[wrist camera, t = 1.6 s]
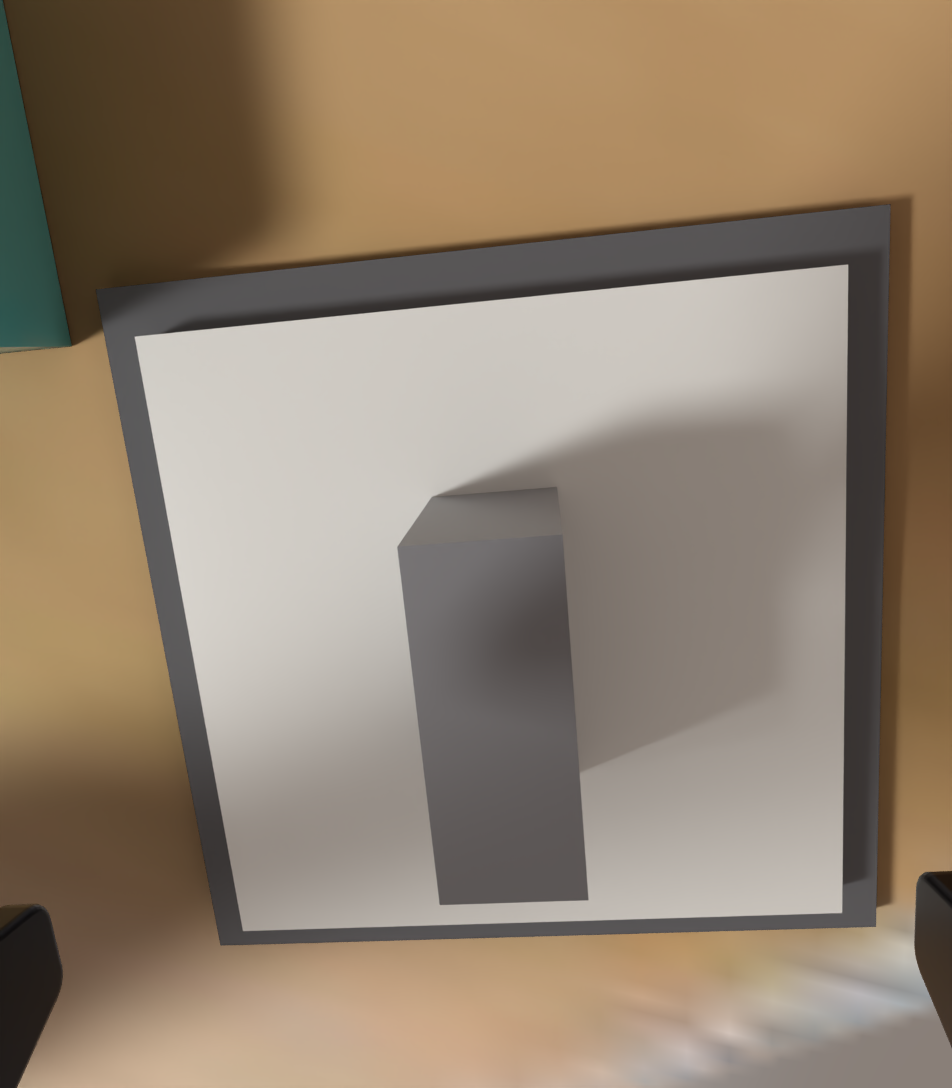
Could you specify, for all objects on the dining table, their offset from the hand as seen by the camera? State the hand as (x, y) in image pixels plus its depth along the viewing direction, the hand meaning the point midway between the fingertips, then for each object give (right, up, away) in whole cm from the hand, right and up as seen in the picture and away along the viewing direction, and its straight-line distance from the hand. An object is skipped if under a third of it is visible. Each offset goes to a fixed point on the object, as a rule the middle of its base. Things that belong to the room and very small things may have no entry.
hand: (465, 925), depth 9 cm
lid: (+1, +2, +9) cm, 9 cm away
